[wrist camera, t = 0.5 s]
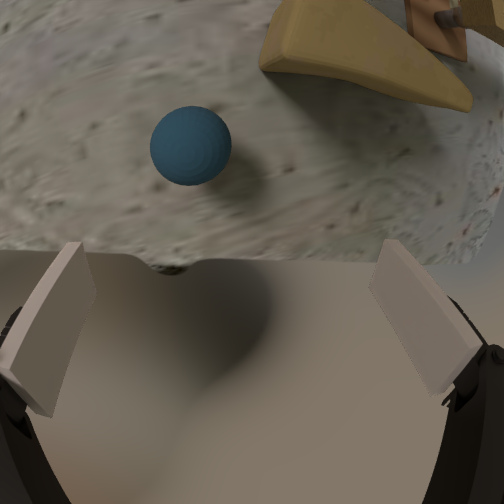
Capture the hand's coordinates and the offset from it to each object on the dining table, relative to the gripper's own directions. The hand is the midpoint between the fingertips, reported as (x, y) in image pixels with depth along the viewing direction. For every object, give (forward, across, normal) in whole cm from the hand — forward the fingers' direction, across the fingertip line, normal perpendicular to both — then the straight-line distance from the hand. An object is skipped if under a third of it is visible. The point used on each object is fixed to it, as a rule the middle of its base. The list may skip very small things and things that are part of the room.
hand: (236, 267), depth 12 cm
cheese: (+28, +15, +12) cm, 34 cm away
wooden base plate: (+28, +31, +25) cm, 49 cm away
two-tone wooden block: (+21, +35, +26) cm, 49 cm away
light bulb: (+28, -4, +1) cm, 28 cm away
